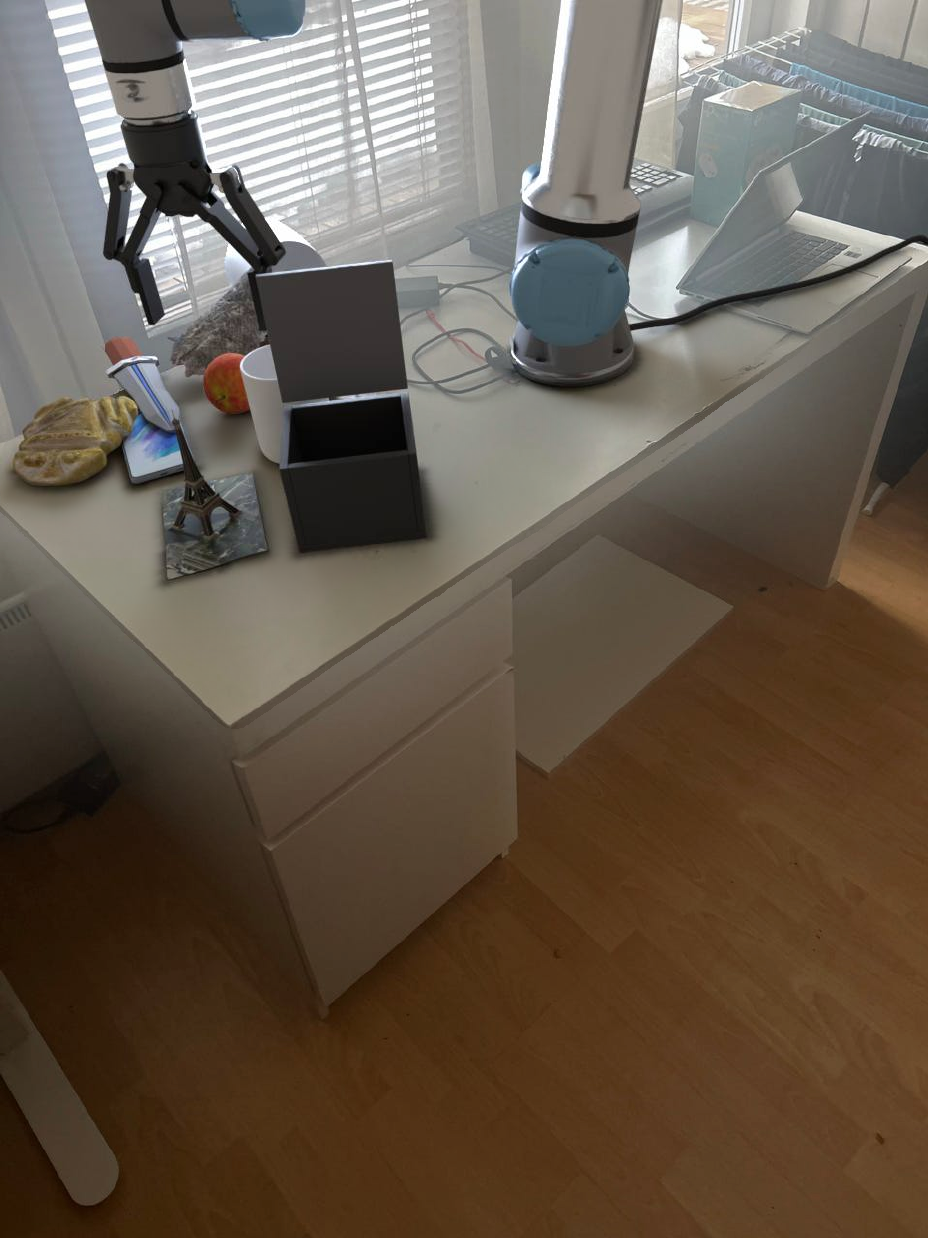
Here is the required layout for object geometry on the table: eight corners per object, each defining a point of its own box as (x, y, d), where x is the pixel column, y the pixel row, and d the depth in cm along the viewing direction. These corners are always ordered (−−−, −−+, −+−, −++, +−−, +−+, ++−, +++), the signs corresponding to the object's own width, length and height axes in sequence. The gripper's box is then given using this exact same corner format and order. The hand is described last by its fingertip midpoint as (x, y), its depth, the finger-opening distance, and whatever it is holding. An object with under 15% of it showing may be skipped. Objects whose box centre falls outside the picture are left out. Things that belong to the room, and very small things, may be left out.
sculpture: (143, 389, 107) (86, 468, 97) (154, 414, 109) (100, 494, 99) (45, 391, 110) (-20, 468, 100) (58, 415, 112) (-4, 493, 102)
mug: (372, 452, 102) (358, 364, 94) (266, 474, 100) (243, 386, 93) (357, 415, 108) (343, 329, 101) (257, 435, 106) (235, 350, 99)
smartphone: (130, 480, 99) (114, 417, 109) (133, 487, 100) (116, 424, 110) (195, 461, 101) (173, 401, 111) (197, 468, 101) (175, 407, 112)
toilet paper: (266, 343, 125) (240, 315, 133) (342, 307, 128) (313, 281, 135) (231, 261, 117) (206, 236, 125) (313, 224, 119) (284, 201, 127)
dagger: (203, 431, 107) (140, 340, 127) (198, 414, 106) (136, 325, 126) (148, 448, 105) (93, 353, 125) (142, 431, 103) (87, 338, 123)
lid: (392, 261, 83) (392, 259, 84) (255, 276, 83) (256, 274, 83) (408, 388, 91) (407, 385, 91) (282, 403, 90) (282, 399, 91)
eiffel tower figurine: (271, 555, 89) (239, 438, 80) (167, 579, 88) (122, 462, 78) (253, 475, 100) (223, 363, 91) (160, 495, 98) (120, 383, 89)
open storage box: (426, 537, 90) (416, 453, 83) (299, 553, 89) (279, 469, 82) (418, 472, 98) (408, 391, 91) (301, 486, 98) (283, 405, 91)
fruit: (266, 344, 108) (241, 377, 102) (276, 397, 113) (253, 430, 107) (211, 341, 109) (183, 373, 103) (223, 393, 114) (198, 426, 108)
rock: (157, 369, 116) (220, 407, 115) (144, 334, 110) (210, 374, 109) (248, 277, 123) (308, 312, 122) (241, 240, 117) (304, 276, 115)
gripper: (23, 125, 88) (96, 332, 102) (263, 125, 83) (303, 343, 97) (64, 103, 93) (127, 303, 108) (291, 103, 88) (326, 312, 103)
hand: (211, 322), depth 103 cm, fingers open, 13 cm apart
